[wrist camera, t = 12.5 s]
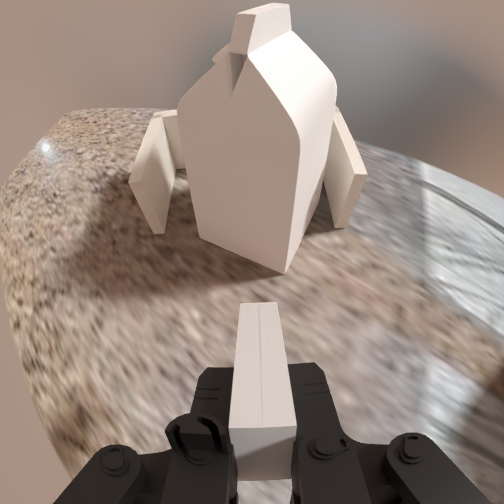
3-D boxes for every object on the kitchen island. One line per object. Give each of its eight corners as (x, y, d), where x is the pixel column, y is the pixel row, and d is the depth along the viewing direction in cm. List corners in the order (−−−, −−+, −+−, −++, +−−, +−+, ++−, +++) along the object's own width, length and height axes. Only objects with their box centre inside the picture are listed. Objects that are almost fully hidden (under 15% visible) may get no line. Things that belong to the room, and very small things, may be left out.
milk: (284, 274, 33) (323, 37, 10) (199, 237, 36) (146, 26, 13) (318, 202, 38) (359, 13, 16) (244, 175, 41) (236, -4, 18)
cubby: (326, 158, 43) (337, 106, 34) (345, 228, 36) (367, 174, 27) (168, 163, 43) (154, 112, 34) (153, 234, 36) (128, 182, 27)
